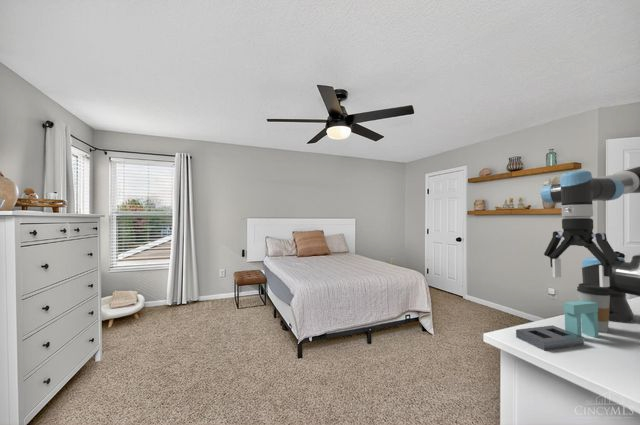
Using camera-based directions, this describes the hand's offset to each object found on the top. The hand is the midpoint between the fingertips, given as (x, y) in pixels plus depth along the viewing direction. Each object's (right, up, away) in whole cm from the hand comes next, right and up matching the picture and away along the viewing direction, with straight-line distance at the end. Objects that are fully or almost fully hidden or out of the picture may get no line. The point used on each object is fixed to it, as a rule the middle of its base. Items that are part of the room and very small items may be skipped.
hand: (579, 281), depth 87 cm
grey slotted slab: (-13, -18, -4) cm, 23 cm away
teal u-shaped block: (0, -18, 0) cm, 18 cm away
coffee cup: (+11, -18, +5) cm, 22 cm away
